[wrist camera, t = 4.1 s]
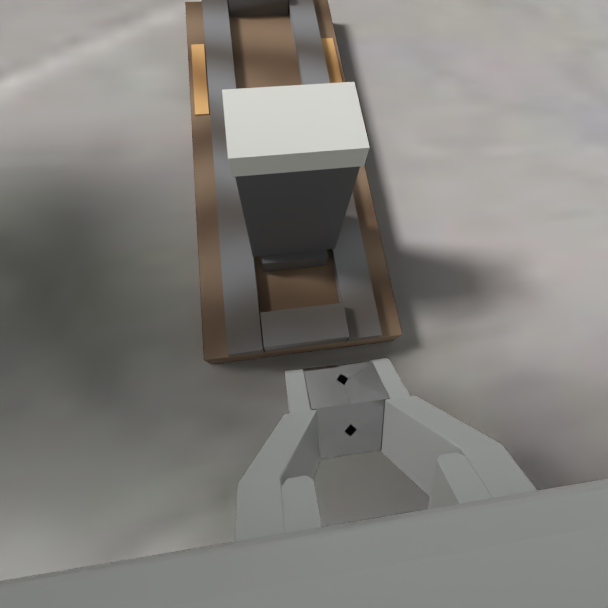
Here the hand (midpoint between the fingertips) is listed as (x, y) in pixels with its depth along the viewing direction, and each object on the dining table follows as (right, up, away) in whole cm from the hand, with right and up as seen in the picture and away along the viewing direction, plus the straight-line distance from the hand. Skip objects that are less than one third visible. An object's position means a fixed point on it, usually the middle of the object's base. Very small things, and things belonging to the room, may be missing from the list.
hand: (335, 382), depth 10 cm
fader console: (-3, +13, +17) cm, 22 cm away
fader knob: (-2, +6, +12) cm, 14 cm away
